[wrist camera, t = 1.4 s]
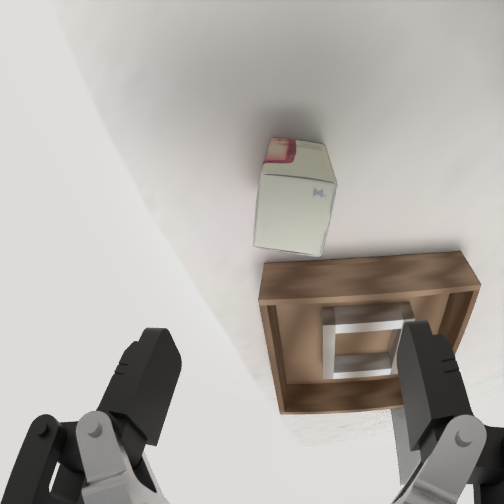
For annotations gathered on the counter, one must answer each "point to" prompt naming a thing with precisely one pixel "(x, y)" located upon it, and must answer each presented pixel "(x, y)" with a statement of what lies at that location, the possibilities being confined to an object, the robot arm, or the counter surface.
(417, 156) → the counter surface
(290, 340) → the crate
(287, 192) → the small box
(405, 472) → the skincare box
